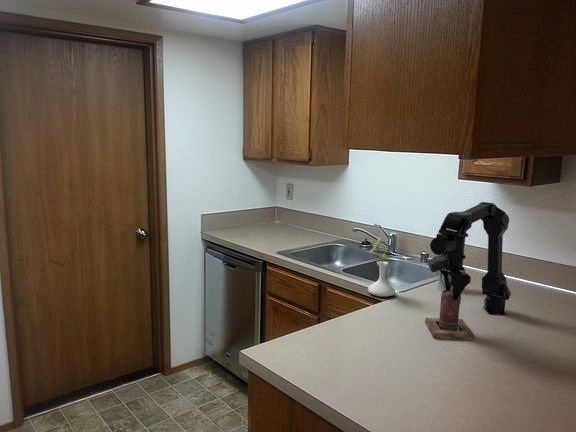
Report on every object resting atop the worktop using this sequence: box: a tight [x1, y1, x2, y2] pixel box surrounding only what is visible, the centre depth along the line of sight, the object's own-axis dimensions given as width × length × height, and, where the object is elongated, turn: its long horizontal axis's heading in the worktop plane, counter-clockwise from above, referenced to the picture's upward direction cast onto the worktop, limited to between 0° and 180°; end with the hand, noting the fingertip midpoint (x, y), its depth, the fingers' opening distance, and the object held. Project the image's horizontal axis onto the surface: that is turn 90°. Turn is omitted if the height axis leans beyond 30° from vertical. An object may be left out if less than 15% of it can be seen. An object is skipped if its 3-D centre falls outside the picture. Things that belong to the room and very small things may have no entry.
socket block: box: [424, 317, 475, 341], centre depth 159 cm, size 13×13×2 cm
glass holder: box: [436, 254, 452, 292], centre depth 201 cm, size 9×14×15 cm, turn 140°
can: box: [438, 290, 462, 331], centre depth 158 cm, size 6×6×14 cm
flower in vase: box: [367, 237, 396, 297], centre depth 193 cm, size 13×11×25 cm
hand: (451, 295), depth 157 cm, fingers open, 9 cm apart
